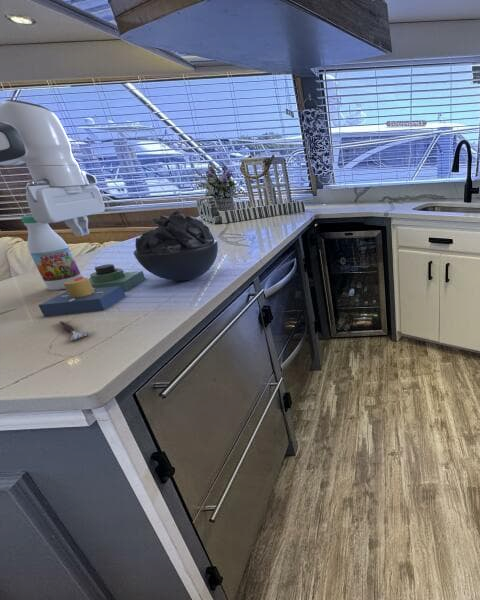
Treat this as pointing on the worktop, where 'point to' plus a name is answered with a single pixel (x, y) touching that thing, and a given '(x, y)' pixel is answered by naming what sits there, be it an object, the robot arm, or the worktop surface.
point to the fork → (70, 329)
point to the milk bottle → (50, 254)
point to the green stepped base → (117, 279)
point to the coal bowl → (177, 248)
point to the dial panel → (82, 302)
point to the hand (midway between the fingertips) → (82, 235)
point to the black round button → (105, 269)
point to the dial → (78, 287)
